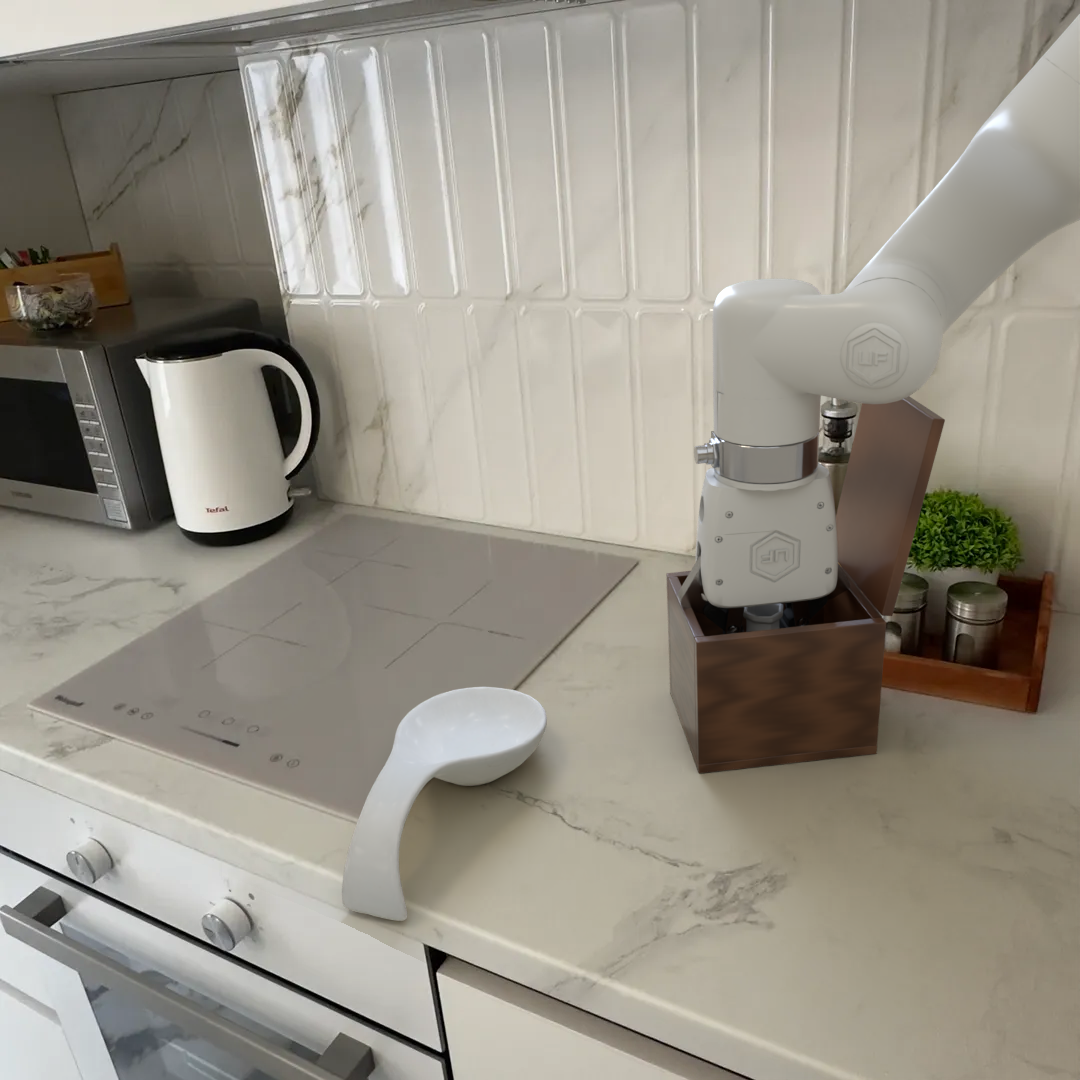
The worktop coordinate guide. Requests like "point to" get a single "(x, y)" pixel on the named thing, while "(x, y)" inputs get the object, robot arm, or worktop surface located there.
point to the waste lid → (885, 495)
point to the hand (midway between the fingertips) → (762, 665)
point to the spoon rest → (442, 752)
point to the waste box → (777, 684)
